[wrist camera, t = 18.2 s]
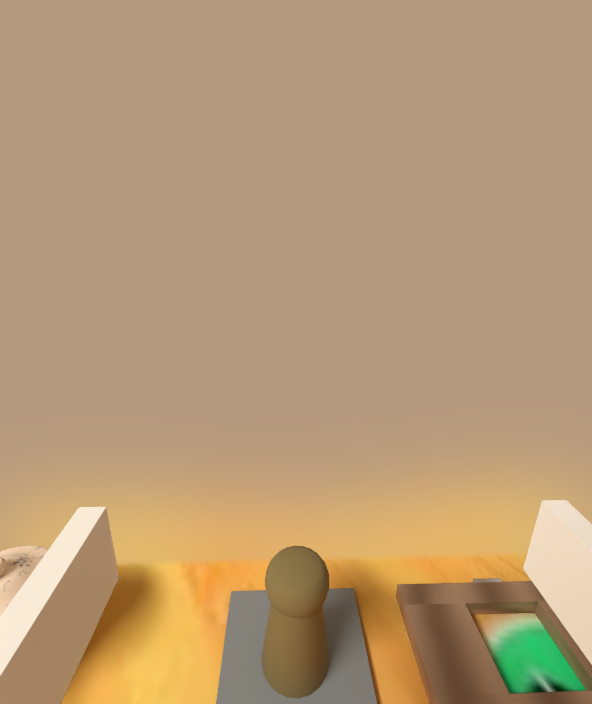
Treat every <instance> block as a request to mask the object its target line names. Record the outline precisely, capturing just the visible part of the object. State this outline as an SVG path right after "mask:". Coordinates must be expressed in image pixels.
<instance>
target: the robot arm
mask: <svg viewBox="0 0 592 704" xmlns="http://www.w3.org/2000/svg"><path fill="white" fill-rule="evenodd" d="M523 569H524V571H525V572H526V574H527V575H528V576H529V578H530V579H531V581H532V582H533V583H534V585H535V586H536V588H537V589H538V590H539V592H540V593H541V595H542V596H543V597H544V599H545V600H546V602H547V603H548V604H549V606H550V607H551V609H552V610H553V611H554V613H555V614H556V616H557V617H558V618H559V620H560V621H561V623H562V624H563V625H564V627H565V628H566V630H567V631H568V632H569V634H570V635H571V637H572V638H573V639H574V641H575V642H576V644H577V645H578V646H579V648H580V649H581V651H582V652H583V653H584V655H585V656H586V658H587V659H588V660H589V662H590V663H591V665H592V524H591V523H590V522H589V521H588V520H586V518H585V517H583V516H582V515H581V514H580V513H579V512H578V511H577V510H576V509H575V508H574V507H573V506H572V505H571V504H570V503H569V502H567V500H551V501H550V500H543V501H542V503H541V507H540V510H539V514H538V517H537V521H536V524H535V528H534V531H533V535H532V539H531V543H530V546H529V549H528V553H527V556H526V560H525V564H524V567H523ZM118 579H119V576H118V570H117V565H116V560H115V554H114V548H113V543H112V537H111V532H110V526H109V520H108V515H107V509H106V507H79V508H78V510H77V511H76V512H75V514H74V515H73V517H72V518H71V519H70V521H69V522H68V523H67V525H66V526H65V528H64V529H63V530H62V532H61V533H60V535H59V536H58V537H57V539H56V540H55V542H54V543H53V544H52V546H51V547H50V549H49V550H48V551H47V553H46V554H45V555H44V557H43V558H42V560H41V561H40V562H39V564H38V565H37V566H36V568H35V569H34V571H33V572H32V573H31V575H30V576H29V578H28V579H27V580H26V582H25V583H24V584H23V586H22V587H21V589H20V590H19V591H18V593H17V594H16V596H15V597H14V598H13V600H12V601H11V603H10V604H9V605H8V607H7V608H6V609H5V611H4V612H3V614H2V615H1V616H0V704H61V702H62V700H63V698H64V696H65V694H66V691H67V689H68V687H69V685H70V683H71V681H72V679H73V676H74V674H75V672H76V670H77V668H78V666H79V663H80V661H81V659H82V657H83V655H84V653H85V650H86V648H87V646H88V644H89V642H90V640H91V637H92V635H93V633H94V631H95V629H96V627H97V624H98V622H99V620H100V618H101V616H102V614H103V611H104V609H105V607H106V605H107V603H108V601H109V598H110V596H111V594H112V592H113V590H114V588H115V585H116V583H117V581H118Z"/></svg>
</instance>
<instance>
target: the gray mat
mask: <svg viewBox="0 0 592 704" xmlns="http://www.w3.org/2000/svg"><path fill="white" fill-rule="evenodd" d="M270 605H271V602H270V600H269V598H268V595H267V591H266V590H265V591H231V598H230V605H229V613H228V620H227V627H226V635H225V642H224V650H223V657H222V664H221V672H220V679H219V687H218V694H217V702H216V704H377V700H376V696H375V691H374V686H373V681H372V676H371V671H370V666H369V661H368V656H367V651H366V647H365V642H364V637H363V632H362V627H361V622H360V617H359V612H358V607H357V602H356V597H355V593H354V588H345V589H329V590H328V594H327V597H326V599H325V602H324V604H323V612H324V620H325V629H326V637H327V645H328V654H329V668H328V671H327V675H326V678H325V680H324V681H323V683H322V684H321V686H320V688H318V689H317V690H316V691H315V692H313V693H312V694H311V695H309V696H305V697H302V698H287V697H285V696H283V695H281V694H279V693H277V692H276V691H275V690H274V689H273V688H272V687H271V686H270V685H269V684H268V682H267V680H266V678H265V676H264V674H263V668H262V662H261V660H262V652H263V646H264V640H265V634H266V628H267V622H268V617H269V611H270Z"/></svg>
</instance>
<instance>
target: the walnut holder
mask: <svg viewBox="0 0 592 704" xmlns="http://www.w3.org/2000/svg"><path fill="white" fill-rule="evenodd" d="M396 598H397V601H398V604H399V607H400V610H401V613H402V617H403V620H404V623H405V626H406V629H407V632H408V636H409V639H410V642H411V645H412V648H413V652H414V655H415V658H416V661H417V664H418V667H419V671H420V674H421V677H422V680H423V683H424V686H425V690H426V693H427V696H428V699H429V702H430V704H592V665H591V663H590V662H589V660H588V659H587V658H586V656H585V655H584V653H583V652H582V651H581V649H580V648H579V646H578V645H577V644H576V642H575V641H574V639H573V638H572V637H571V635H570V634H569V632H568V631H567V630H566V628H565V627H564V625H563V624H562V623H561V621H560V620H559V618H558V617H557V616H556V614H555V613H554V611H553V610H552V609H551V607H550V606H549V604H548V603H547V602H546V600H545V599H544V597H543V596H542V595H541V593H540V592H539V590H538V589H537V588H536V586H535V585H534V583H533V582H532V581H523V582H502V580H501V579H500V578H493V579H473V582H472V583H441V584H400V585H397V592H396ZM502 613H535V614H536V615H537V617H538V618H539V620H540V621H541V623H542V624H543V626H544V627H545V629H546V630H547V632H548V633H549V635H550V636H551V638H552V639H553V641H554V642H555V644H556V645H557V647H558V648H559V650H560V651H561V653H562V654H563V656H564V657H565V659H566V660H567V662H568V663H569V665H570V666H571V668H572V669H573V671H574V672H575V674H576V675H577V677H578V678H579V680H580V681H581V683H582V684H583V686H584V687H585V689H586V691H567V692H541V693H515V694H510V693H509V691H508V689H507V687H506V685H505V683H504V681H503V679H502V677H501V675H500V673H499V671H498V669H497V667H496V665H495V663H494V661H493V659H492V657H491V655H490V653H489V651H488V649H487V647H486V645H485V643H484V641H483V639H482V637H481V635H480V633H479V631H478V628H477V626H476V624H475V622H474V620H473V618H472V616H471V614H502Z"/></svg>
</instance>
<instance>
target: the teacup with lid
mask: <svg viewBox="0 0 592 704" xmlns="http://www.w3.org/2000/svg"><path fill="white" fill-rule="evenodd" d="M48 550H49V549H47V548H44V547H40V546H21V547H15V548H11V549H7V550H4V551H1V552H0V616H1V615H2V614H3V612H4V611H5V609H6V608H7V607H8V605H9V604H10V603H11V601H12V600H13V598H14V597H15V596H16V594H17V593H18V591H19V590H20V589H21V587H22V586H23V584H24V583H25V582H26V580H27V579H28V578H29V576H30V575H31V573H32V572H33V571H34V569H35V568H36V566H37V565H38V564H39V562H40V561H41V560H42V558H43V557H44V555H45V554H46V553H47V551H48Z"/></svg>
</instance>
